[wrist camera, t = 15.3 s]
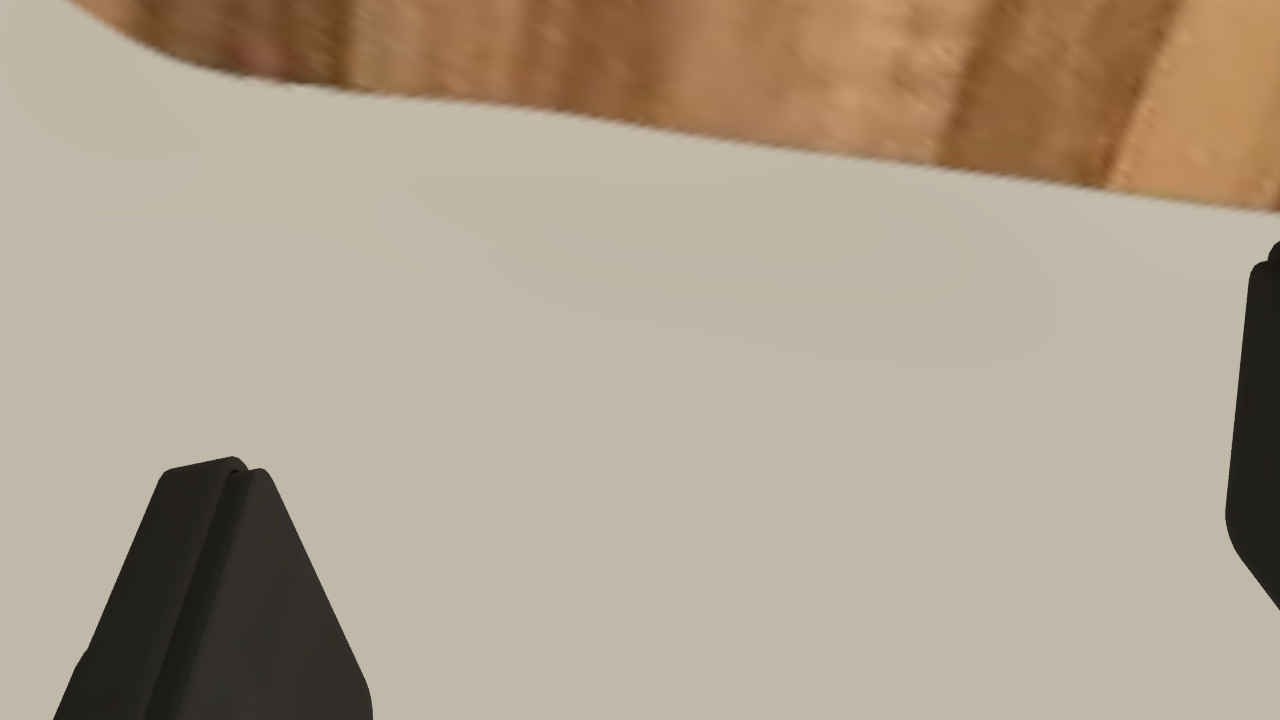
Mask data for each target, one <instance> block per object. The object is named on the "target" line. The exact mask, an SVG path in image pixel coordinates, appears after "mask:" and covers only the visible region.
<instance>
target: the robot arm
mask: <svg viewBox="0 0 1280 720" xmlns="http://www.w3.org/2000/svg"><path fill="white" fill-rule="evenodd" d="M1225 519H1226V525H1227V530H1228V533H1229V536H1230V539H1231V542H1232V544H1233V547H1234V549H1235V550H1236V552H1237V554H1238V555H1239V556H1240V558H1241V560H1242V561H1243V562H1244V563H1245V565H1246V566H1247V567H1248V569H1249V570H1250V571H1251V573H1252V574H1253V575H1254V577H1255V578H1256V579H1257V581H1258V582H1259V583H1260V585H1261V586H1262V587H1263V589H1264V590H1265V591H1266V593H1267V594H1268V595H1269V597H1270V598H1271V599H1272V601H1273V602H1274V603H1275V605H1276V606H1277V607H1278V609H1279V610H1280V241H1279V242H1277V243H1276V244H1275V245H1274V246H1273V248H1272V250H1271V251H1270V253H1269V256H1268V260H1267V261H1264V262H1260V263H1258V264H1257V265H1255V266H1254V268H1253V270H1252V271H1251V274H1250V278H1249V284H1248V294H1247V304H1246V313H1245V323H1244V333H1243V342H1242V352H1241V362H1240V372H1239V382H1238V392H1237V401H1236V411H1235V421H1234V430H1233V441H1232V450H1231V460H1230V469H1229V480H1228V489H1227V499H1226V510H1225ZM53 720H373V710H372V702H371V696H370V692H369V688H368V686H367V683H366V681H365V678H364V676H363V674H362V672H361V669H360V667H359V665H358V663H357V661H356V659H355V656H354V654H353V652H352V650H351V648H350V646H349V644H348V641H347V639H346V637H345V635H344V633H343V631H342V629H341V627H340V624H339V622H338V620H337V618H336V615H335V613H334V611H333V609H332V607H331V605H330V602H329V600H328V598H327V596H326V594H325V592H324V589H323V587H322V585H321V583H320V581H319V579H318V577H317V574H316V572H315V570H314V568H313V566H312V564H311V561H310V559H309V557H308V555H307V553H306V551H305V549H304V546H303V544H302V542H301V540H300V538H299V536H298V533H297V531H296V529H295V527H294V525H293V523H292V520H291V518H290V516H289V514H288V512H287V510H286V507H285V505H284V503H283V501H282V499H281V497H280V494H279V492H278V490H277V488H276V486H275V484H274V482H273V480H272V478H271V476H270V475H269V473H268V472H267V471H266V470H265V469H261V468H258V469H253V470H248V468H247V467H246V465H245V464H244V463H243V462H242V461H241V460H240V459H239V458H237V457H233V456H231V457H226V458H222V459H216V460H211V461H206V462H202V463H197V464H192V465H187V466H183V467H177V468H173V469H169V470H167V471H165V472H164V473H163V475H162V476H161V478H160V479H159V481H158V484H157V486H156V488H155V491H154V493H153V495H152V498H151V500H150V502H149V505H148V507H147V509H146V512H145V514H144V516H143V519H142V521H141V524H140V526H139V528H138V531H137V533H136V536H135V538H134V540H133V542H132V545H131V547H130V550H129V552H128V554H127V557H126V559H125V561H124V564H123V566H122V569H121V571H120V573H119V576H118V578H117V581H116V583H115V585H114V588H113V590H112V592H111V595H110V597H109V599H108V602H107V604H106V606H105V609H104V611H103V614H102V616H101V618H100V621H99V623H98V625H97V628H96V630H95V633H94V635H93V637H92V640H91V642H90V644H89V647H88V649H87V650H86V651H85V652H84V654H83V656H82V657H81V659H80V661H79V663H78V664H77V666H76V667H75V669H74V672H73V674H72V677H71V679H70V681H69V683H68V686H67V688H66V691H65V693H64V695H63V698H62V700H61V702H60V705H59V707H58V709H57V712H56V714H55V716H54V719H53Z"/></svg>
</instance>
